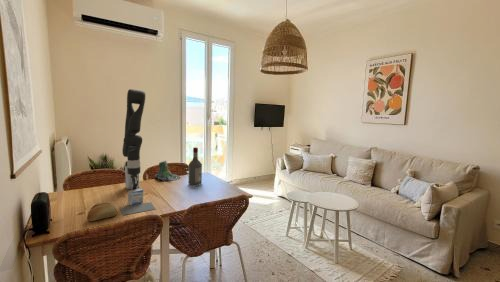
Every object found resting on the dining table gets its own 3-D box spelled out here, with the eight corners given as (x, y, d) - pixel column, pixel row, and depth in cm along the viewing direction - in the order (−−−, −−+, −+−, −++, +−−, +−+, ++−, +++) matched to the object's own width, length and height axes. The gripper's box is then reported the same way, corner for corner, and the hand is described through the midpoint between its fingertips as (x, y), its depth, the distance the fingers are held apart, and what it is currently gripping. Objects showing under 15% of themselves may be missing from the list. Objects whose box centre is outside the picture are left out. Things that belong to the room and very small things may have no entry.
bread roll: (84, 219, 134) (83, 205, 133) (113, 211, 145) (113, 198, 144) (90, 225, 128) (89, 210, 127) (120, 216, 139) (120, 203, 138)
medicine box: (131, 205, 153) (132, 192, 152) (127, 203, 155) (128, 190, 154) (142, 202, 160) (143, 189, 159) (138, 200, 162) (139, 188, 161)
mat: (119, 207, 150) (119, 207, 150) (151, 202, 161) (151, 202, 161) (122, 215, 141) (122, 214, 141) (155, 209, 151) (155, 208, 151)
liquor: (202, 183, 206) (203, 147, 202) (197, 186, 198) (197, 149, 194) (192, 181, 209) (193, 146, 205) (187, 184, 200) (187, 148, 196)
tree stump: (178, 182, 208) (173, 161, 204) (154, 187, 206) (148, 167, 202) (181, 175, 226) (176, 156, 222) (159, 180, 224) (154, 161, 220)
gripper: (142, 168, 155) (143, 194, 158) (138, 163, 165) (138, 187, 168) (129, 169, 150) (130, 196, 153) (125, 164, 161) (126, 189, 164)
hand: (134, 191), depth 161 cm, fingers closed
